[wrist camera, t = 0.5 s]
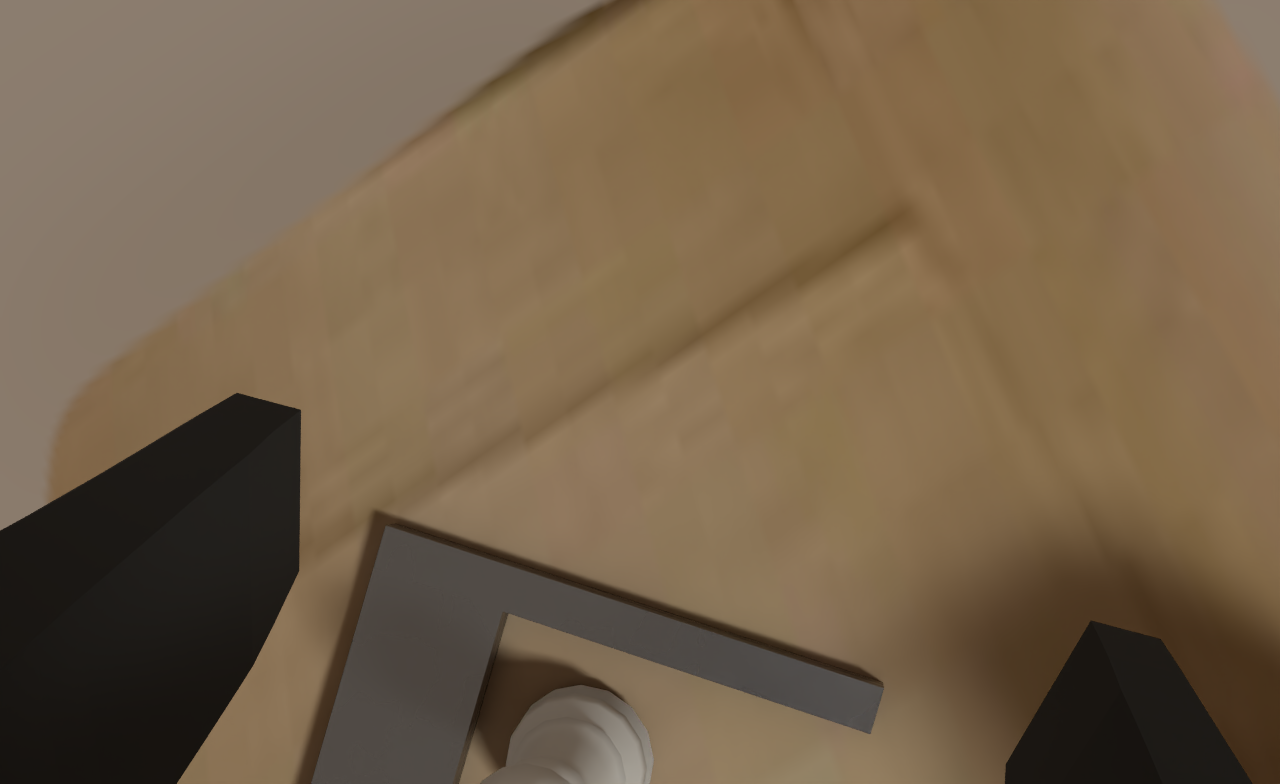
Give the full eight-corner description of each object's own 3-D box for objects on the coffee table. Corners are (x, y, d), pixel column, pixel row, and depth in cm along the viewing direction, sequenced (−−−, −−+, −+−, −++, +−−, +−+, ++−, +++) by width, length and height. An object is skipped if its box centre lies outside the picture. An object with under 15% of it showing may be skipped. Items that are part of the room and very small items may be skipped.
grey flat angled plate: (788, 1001, 35) (787, 1014, 35) (309, 820, 38) (297, 828, 37) (882, 682, 35) (883, 688, 34) (395, 523, 38) (385, 525, 37)
